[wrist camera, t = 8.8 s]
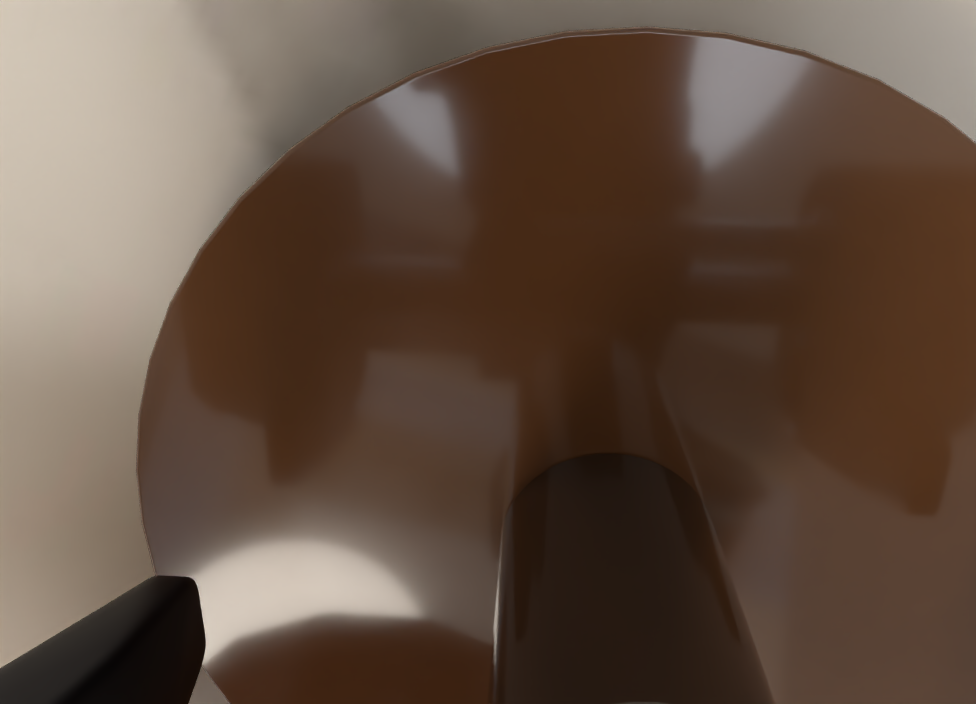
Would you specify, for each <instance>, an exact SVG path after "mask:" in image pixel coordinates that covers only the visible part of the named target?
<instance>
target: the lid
mask: <svg viewBox="0 0 976 704" xmlns="http://www.w3.org/2000/svg"><path fill="white" fill-rule="evenodd" d="M136 473H137V482H138V492H139V501H140V511H141V520H142V525H143V529H144V533H145V537H146V541H147V545H148V549H149V553H150V557H151V561H152V565H153V568H154V572H155V575H156V576H158V575H166V576H185V577H190V578H192V579H193V580H194V581H195V582H196V584H197V587H198V591H199V597H200V603H201V610H202V617H203V623H204V630H205V637H206V648H205V655H204V659H203V663H202V668H203V669H204V670H205V672H206V673H207V674H208V676H209V677H210V678H211V680H212V681H213V682H214V684H215V685H216V686H217V688H218V689H219V690H220V692H221V693H222V694H223V696H224V697H225V698H226V700H227V701H228V702H229V703H230V704H976V142H975V141H973V140H972V139H971V138H970V137H968V136H967V135H966V134H965V133H963V132H962V131H961V130H960V129H958V128H957V127H956V126H955V125H954V124H952V123H951V122H950V121H949V120H947V119H946V118H945V117H943V116H942V115H940V114H938V113H937V112H935V111H933V110H931V109H930V108H928V107H926V106H924V105H923V104H921V103H919V102H917V101H916V100H914V99H912V98H910V97H909V96H907V95H905V94H903V93H902V92H900V91H898V90H897V89H895V88H893V87H891V86H890V85H888V84H886V83H884V82H883V81H881V80H879V79H877V78H875V77H872V76H869V75H867V74H864V73H862V72H859V71H856V70H854V69H851V68H849V67H846V66H844V65H841V64H838V63H836V62H833V61H831V60H828V59H826V58H823V57H820V56H818V55H815V54H813V53H810V52H808V51H805V50H801V49H796V48H792V47H787V46H783V45H779V44H774V43H770V42H765V41H761V40H757V39H752V38H748V37H743V36H739V35H735V34H730V33H724V32H711V31H699V30H687V29H674V28H662V27H649V26H641V27H625V28H608V29H591V30H575V31H563V32H558V33H553V34H548V35H543V36H538V37H533V38H528V39H523V40H518V41H513V42H508V43H504V44H499V45H494V46H489V47H485V48H482V49H480V50H477V51H474V52H471V53H468V54H465V55H463V56H460V57H457V58H454V59H451V60H448V61H445V62H443V63H440V64H437V65H434V66H431V67H428V68H426V69H423V70H420V71H417V72H414V73H412V74H410V75H408V76H406V77H404V78H403V79H401V80H399V81H397V82H395V83H393V84H391V85H389V86H387V87H385V88H383V89H381V90H379V91H377V92H376V93H374V94H372V95H370V96H368V97H366V98H364V99H362V100H360V101H358V102H356V103H354V104H352V105H351V106H349V107H347V108H345V109H344V110H343V111H341V112H340V113H338V114H337V115H336V116H334V117H333V118H331V119H330V120H329V121H327V122H326V123H324V124H323V125H322V126H320V127H319V128H318V129H316V130H315V131H313V132H312V133H311V134H309V135H308V136H306V137H305V138H304V139H302V140H301V141H299V142H298V143H297V144H295V145H294V146H292V147H291V148H290V149H288V150H287V151H286V152H285V153H284V154H283V155H282V156H281V157H280V158H279V159H278V160H277V161H276V162H275V163H274V164H273V165H272V166H271V167H270V168H269V169H268V170H267V171H266V172H265V173H263V174H262V175H261V176H260V177H259V178H258V179H257V180H256V181H255V182H254V183H253V184H252V185H251V186H250V187H249V188H248V189H247V190H246V191H245V192H244V193H243V194H242V195H241V196H240V197H239V198H238V199H237V201H236V202H235V203H234V204H233V206H232V207H231V208H230V210H229V211H228V212H227V214H226V215H225V216H224V217H223V219H222V220H221V221H220V223H219V224H218V225H217V227H216V228H215V229H214V231H213V232H212V233H211V234H210V236H209V237H208V238H207V240H206V241H205V242H204V244H203V245H202V246H201V247H200V249H199V251H198V253H197V254H196V256H195V258H194V260H193V262H192V263H191V265H190V267H189V269H188V271H187V273H186V274H185V276H184V278H183V280H182V282H181V283H180V285H179V287H178V289H177V291H176V293H175V294H174V296H173V298H172V300H171V302H170V304H169V307H168V309H167V312H166V315H165V318H164V320H163V323H162V326H161V329H160V331H159V334H158V337H157V340H156V342H155V345H154V348H153V351H152V353H151V356H150V359H149V364H148V369H147V375H146V380H145V385H144V390H143V395H142V400H141V405H140V410H139V416H138V439H137V462H136Z"/></svg>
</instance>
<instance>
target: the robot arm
mask: <svg viewBox="0 0 976 704" xmlns="http://www.w3.org/2000/svg"><path fill="white" fill-rule="evenodd" d="M205 648H206V637H205V630H204V623H203V617H202V610H201V603H200V597H199V591H198V587H197V584H196V582H195V581H194V580H193V579H192V578H190V577H185V576H166V575H158V576H154V577H151V578H150V579H148V580H146V581H144V582H143V583H141V584H139V585H138V586H136V587H134V588H133V589H131V590H129V591H128V592H126V593H124V594H123V595H121V596H119V597H118V598H116V599H114V600H113V601H111V602H109V603H108V604H106V605H105V606H103V607H101V608H100V609H98V610H96V611H95V612H93V613H91V614H90V615H88V616H86V617H85V618H83V619H81V620H80V621H78V622H76V623H75V624H73V625H71V626H70V627H68V628H66V629H65V630H63V631H61V632H60V633H58V634H56V635H55V636H53V637H51V638H50V639H48V640H47V641H45V642H43V643H42V644H40V645H38V646H37V647H35V648H33V649H32V650H30V651H28V652H27V653H25V654H23V655H22V656H20V657H18V658H17V659H15V660H13V661H12V662H10V663H8V664H7V665H5V666H3V667H2V668H0V704H188V703H189V700H190V697H191V695H192V692H193V689H194V686H195V683H196V680H197V677H198V674H199V672H200V669H201V666H202V663H203V659H204V655H205Z"/></svg>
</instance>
